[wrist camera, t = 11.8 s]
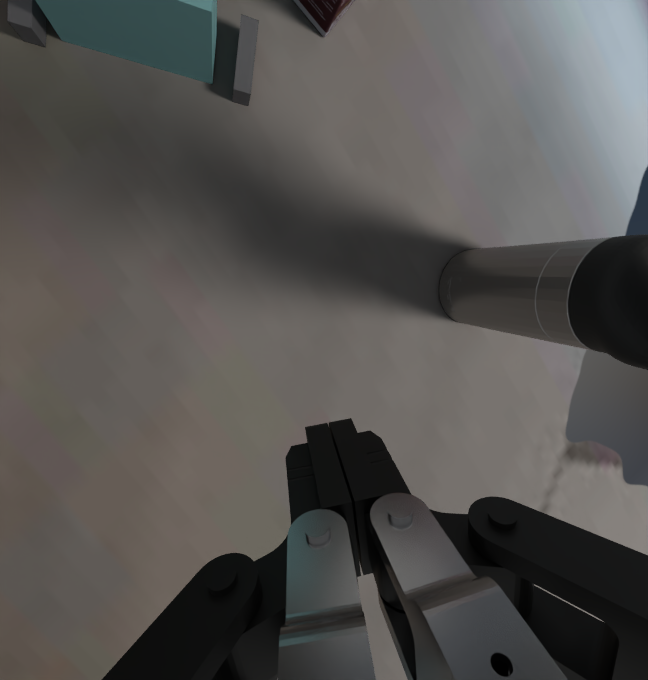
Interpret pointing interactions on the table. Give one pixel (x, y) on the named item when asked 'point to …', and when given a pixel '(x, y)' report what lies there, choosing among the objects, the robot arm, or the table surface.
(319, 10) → the supplement box
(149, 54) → the t block
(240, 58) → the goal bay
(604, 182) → the table surface
